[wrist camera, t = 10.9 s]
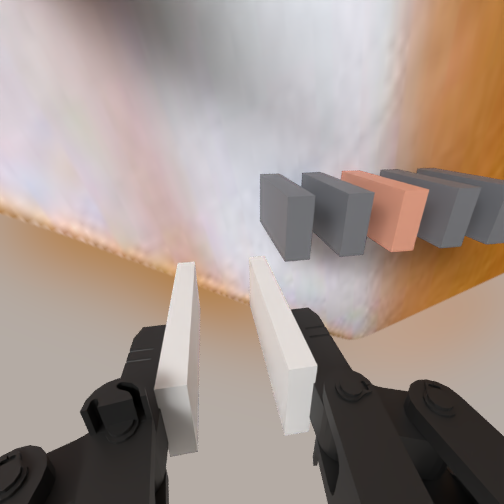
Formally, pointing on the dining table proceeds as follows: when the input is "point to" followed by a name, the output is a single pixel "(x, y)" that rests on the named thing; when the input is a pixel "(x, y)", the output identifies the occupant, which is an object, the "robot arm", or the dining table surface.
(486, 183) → the domino
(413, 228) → the domino
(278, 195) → the domino
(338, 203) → the domino
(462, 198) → the domino
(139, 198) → the dining table surface
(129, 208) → the dining table surface
